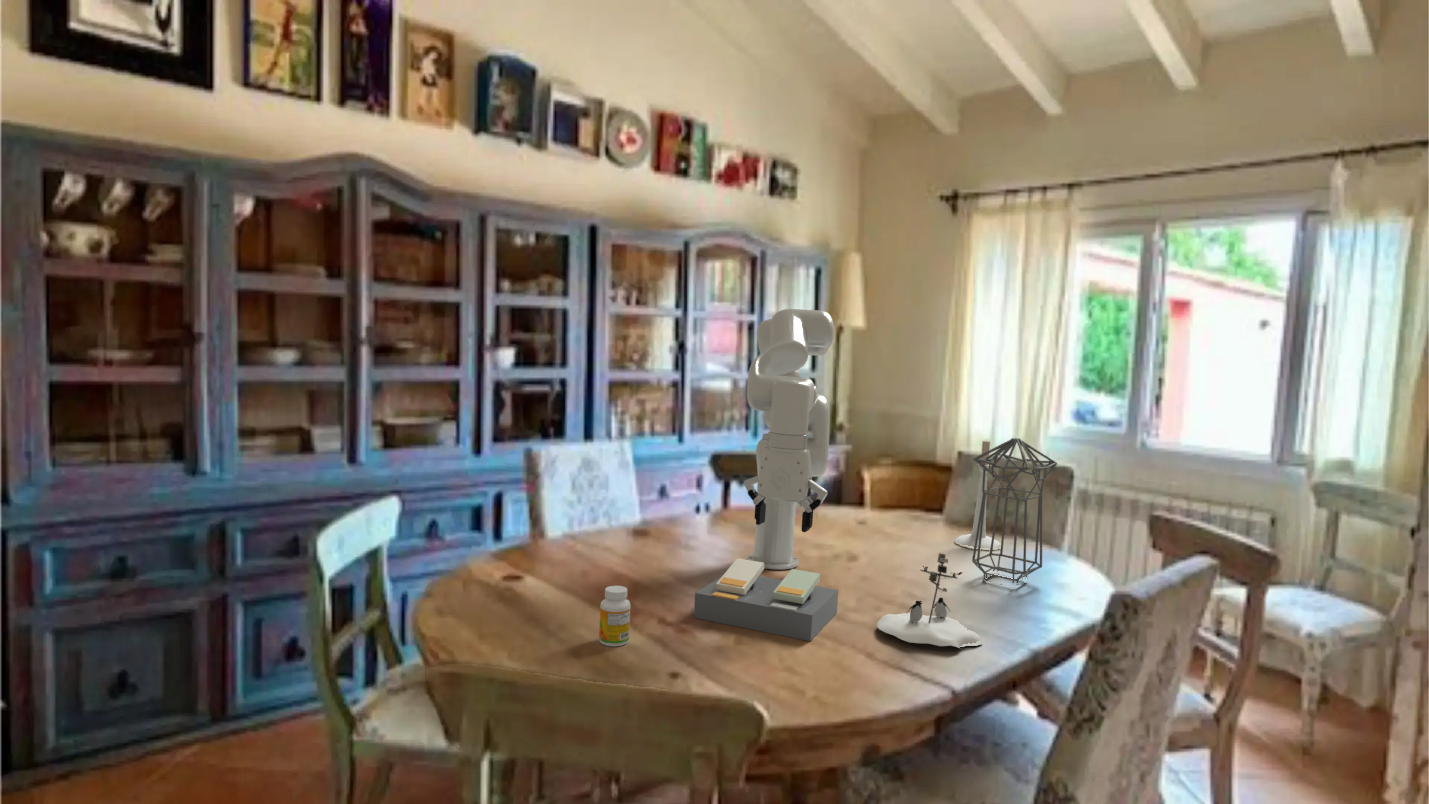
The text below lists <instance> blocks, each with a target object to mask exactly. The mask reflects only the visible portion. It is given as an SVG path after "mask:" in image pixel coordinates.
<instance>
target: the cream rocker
mask: <svg viewBox="0 0 1429 804" xmlns="http://www.w3.org/2000/svg"><path fill="white" fill-rule="evenodd" d="M764 569H765V568H764V563H763V562H757V561H751V560H747V559H745V558H739V557H737V558H736V559H735V560H734V562H733V563H732V564H731V565H730V566H729V567H728V569H727V570H726V572H725V573H724V574H723V575H721V576H722V577H721V576H720V577H721V579H720V580H719V581H718V582H717V583H716V588H717V590H720V591H725V592H731V593H736V594H742V595H745V594H746V593H747V591H748V590H749V589H750V587H751V586H752V584H753V583H754V582H755V580H756V579H757V578H758V576H761V574H762V573H763V571H764Z"/></svg>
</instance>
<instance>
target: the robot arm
mask: <svg viewBox="0 0 1429 804" xmlns="http://www.w3.org/2000/svg"><path fill="white" fill-rule="evenodd" d="M834 336H835V324H834V320H833V318H832V316H831V315H830V314H829V313H828V312H827V311H825V310H817V309H816V310H815V309H797V308H785V309H781V310H778V311H777V312H776V313H774V315H773V316H772V317H771V318H769V319H765V320H763V321H761V322H760V323H759V325H758V327H757V344H758V345H757V346H758V349H759V354H758V355H757V357H755V358H754V359H753V361H752V363H751V364H750V366H749V370H748V375H747V387H746V397H747V398H746V400H747V404H748V405H749V406H750V408H751V409H753V410H755V411H758V412H764V413H763V414H764V423H765V425H766V427H767V428H769V431H768V432H767V433H763V434H762V438H760V440H759V441H758V442H757V445H756V449H755V451H756V452H755V453H756V454H755V456H756V458H755V459H756V469H757V475H756V476H753V477H750V478H748V479H745V480H744V481H743V484H744V487H745V489H746V491H747V496H748V497H749V498H750V499H751V501H752V503H753V505H754V520H755V529H754V530H755V532H754V546H753V547H754V549H753V551H754V552H753V553H750V554H748V555H747V559H746V560H751V561H757V562H763V563H764V569H766V570H767V569H768V570H779V571H782V570H791V569H795V568H796V567H798V566H799V562H800V561H799V559H798V558H797V557H796V556H794V554H793V553H794V546H795V544H794V539H795V537H794V536H795V524H796V523H795V521H796V507H797V505H796V504H797V503H800V504H801V506H802V507H803V509H804V511H802V516H801V530H800V531H801V532H802V533H806V532H808V531H809V530H810V529H811V528H812V527H813V519H814V518H813V517H814V511H815V510H816V509H817V508H818V507H820V506H821V505H822V504H823V502H824V501H825V499H826V498H827V496H828V494H829V493H828V490H827V489H825V488H824V487H822V486H821V485H820V484H818V483H817V482H816V481H814V480H813V478H814V477H821V476H823V475H824V474H825V473H826V472H827V469H828V465H829V452H830V451H829V447H830V420H831V419H830V415H831V414H830V405H829V402H828V399H827V398H826V396H825V395H824V396H823V395H822V394H819V393H818V389H817V386H816V384H815V383H814V382H813V380H811V379H810V378H808V377H805V376H804V377H803V376H801V372H800V369H802V368H803V367H804V366H805V365H806V363H807V361H808V358H809V356H824V355H825V354H826V353H827V352H828V350H829V349H830V347H831V346H832V343H833V340H834ZM808 434H809V436H810V437H808ZM756 483H757V489H755V486H754V485H755V484H756ZM812 491H813V492H815V493H816V494H817V497H816V498H815V500H812V499H811V495H812Z"/></svg>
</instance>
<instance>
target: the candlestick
mask: <svg viewBox="0 0 1429 804" xmlns="http://www.w3.org/2000/svg"><path fill="white" fill-rule="evenodd" d="M990 446H991V441H990V440H987V439H985V440H982V444H981V454H983V453H985V452H987V451H989V450H990V449H991V448H990ZM988 456H990V453H989V454H987V455H985V456H984V457H982V458H980V459H985V458H987V457H988ZM981 463H983V462H981ZM977 465H978V467H979V469H978V470H979V473H980V476H979V480H978V488H977V494H976V502H975V510H974V517H973V524H972V530H971V532H970V533H969V534H962V535H959V536H957V537H956V538H954V540H955V542H958V543H960V544H962V545H968V546H973V547H974V546H975V540H976V533H977V527H978V521H979V515H980V509H981V503H982V496H983V493H982V486H983V468H982V467H981V466H980V465H979V464H978V463H977ZM985 466H986V467H987V468H989V464H987V463H985ZM990 467H992V465H990ZM988 473H989V472H988V471H985V487H984V490H987V489H988V488H987V486H988V477H987V474H988ZM986 492H987V491H986ZM987 495H988V494H986V496H987ZM986 519H987V499H986V500H985V510H984V519H983V529H982V538H981V547H982V548H991V541H992V536H988V535H987V534H986V533H987V532H986V530H987V529H986V525H987V523H986V522H987V521H986ZM980 525H981V523H980ZM979 535H980V529H979ZM978 545H979V536H978V542H977V547H978ZM998 545H1001V542H1000V541H998V540H997V539H995V538H994V543H993V547H996V546H998Z"/></svg>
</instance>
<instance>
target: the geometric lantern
mask: <svg viewBox="0 0 1429 804" xmlns="http://www.w3.org/2000/svg"><path fill="white" fill-rule="evenodd" d="M1016 445H1017V446H1018V449H1019V452H1020V454H1021V458H1020V457H1015V456H1012V455H1013V454H1014V450H1015V448H1016ZM1033 451H1034V452H1035V453H1036V454H1039V456H1041V457H1043V458H1044V459H1046V460H1040V459H1039V458H1038V457H1037V456H1036V455H1035V453H1034V452H1033ZM1008 452H1009V454H1007V453H1008ZM1025 453H1026V455H1027V457H1028V458H1026V455H1025ZM987 454H989V456H988V457H987V458H985V459H981V458H982V457H984V456H985V455H987ZM1002 458H1005V459H1006V462H1005V464H1004V466H1003V465H1002V466H1001V465H997V464H998V463H999V461H1000V460H1001V459H1002ZM971 460H972V461H973V462H975V463H976V464H977V465H978V464H979V465H980V466H981V467H982V468H983V486H982V493H983V496H982V503H981V509H980V515H979V521H978V527H977V533H976V540H975V546H974V550H973V552H972V559H971V560H972V563H973V564H974V565H975V566H976V567H977V568H978V569H979V570H980V571H981V572H982V574H983V577H985V578H987V577H988V576H991V575H992V577H995V578H997V577H998V578H1001V579H1005V580H1010V581H1011V584H1012V583H1014V584H1015V582H1016V584H1017V583H1018V584H1019V579H1023V577H1025V578H1026V577H1027V578H1028V575H1030V574H1032V573H1033V572H1035V571H1037V570H1040V569H1042V568H1043V489H1044V484H1045V479H1046V478H1047V477H1048V476H1049V474H1050V473H1051V472H1052V471H1053V469H1054V468H1055V467H1056V466H1057V465H1058V463H1057V461H1055V460H1054V459H1052V458H1050V457H1048V456H1047V455H1045V454H1044V453H1043V452H1041V451H1039V450H1037V449H1036V448H1034V447H1033V446H1032V445H1030V444H1029V443H1026V441H1024V440H1022V439H1021V438H1017V437H1012V438H1010V439H1009V440H1007V441H1005V442H1003V443H1001V444H999V445H997V446H995V447H993V448H990V449H989V451H987V452H985V453H983V454H982V453H981V454H979V455H978V456H975V457H973V458H972V459H971ZM1013 460H1014V461H1015V460H1016V461H1018V462H1021V463H1022V464H1021V465H1022V466H1019V465H1017V464H1016V463H1015V462H1014V461H1013ZM992 461H993V462H992ZM981 462H983V463H981ZM1028 462H1030V463H1031V464H1032V466H1033V467H1030V466H1029V465H1030V464H1029V463H1028ZM985 463H987V464H988V465H989V468H987V467H986V466H985ZM1009 463H1011V465H1013V466H1008V465H1009ZM1038 464H1039V465H1040V466H1041V467H1040V466H1039V465H1038ZM979 465H978V466H979ZM990 465H991V466H990ZM994 468H997V469H1001V470H1002V475H998V474H997V472H996V470H994ZM1006 469H1007V470H1008V469H1009V470H1012V469H1013V470H1017V471H1015V472H1013V473H1012V472H1011V473H1010V474H1008V475H1006V472H1005V470H1006ZM1029 470H1031V471H1029ZM1043 470H1044V472H1043V476H1042V477H1041V471H1043ZM985 471H988V472H987V473H989V474H990V475H991V477H992V478H994V479H993V481H992V482H991V484H990V486H989V488H987V490H984V487H985ZM1020 473H1024V474H1029V475H1032V476H1033V477H1034V480H1035V483H1034V485H1033V487H1032V489H1031V490H1030V491H1029V490H1024V489H1018V488H1017V489H1016V488H1013V486H1012V484H1013V482H1014V481H1015V480H1016V478H1018V476H1019V475H1020ZM1013 476H1014V477H1013ZM1012 477H1013V478H1012ZM1009 478H1012V479H1011V481H1010V480H1009ZM1001 479H1004V480H1005V481H1006V483H1007V486H1005V487H1004V486H1003V484H1002V482H1001ZM996 480H997V481H998V482H999V484H1000V486H996V487H993V485H994V484H995V482H996ZM1039 482H1041V485H1039ZM1036 486H1037V487H1038V490H1039V492H1036V491H1035V492H1034V489H1035V488H1036ZM993 490H998V493H997V494H996V493H992V492H989V491H993ZM1002 490H1005V491H1006V493H1005V495H1002ZM986 491H987V492H986ZM1009 491H1011V492H1012V493H1013V496H1014V497H1011V496H1009ZM1016 492H1021V493H1028V494H1027V496H1026V498H1020V497H1019V496H1018V495H1017V493H1016ZM986 494H987V495H988V496H989V495H990V496H995V497H997V500H996V507H995V515H994V521H993V528H992V529H993V530H992V535H991V538H992V541H991V548H990V551H989V553H987V554H985V555H981V551H980V548H981V538H982V529H983V519H984V510H985V500H986V501H987V495H986ZM1031 494H1033V495H1035V496H1032V497H1030V496H1031ZM1001 498H1004V499H1005V502H1004V511H1003V520H1002V531H1001V542H1000V544H1001V549H1000V550H999V551H1000V552H999V553H994V552H993V551H992V550H993V543H994V539H995V537H996V529H997V522H998V513H999V506H1000V502H1001V501H1000V500H1001ZM1036 498H1038V499H1037V500H1038V502H1037V515H1036V516H1037V519H1036V535H1035V552H1034V560H1029V559H1027V525H1028V524H1027V523H1028V520H1027V518H1028V517H1027V516H1028V515H1027V514H1028V501H1029V500H1033V499H1036ZM1009 499H1011V500H1016V504H1015V505H1016V506H1015V520H1014V537H1013V552H1012V556H1011V555H1008V554H1003V552H1004V551H1003V550H1004V541H1005V531H1006V529H1005V528H1006V520H1007V511H1008V500H1009ZM1020 501H1021V502H1024V508H1023V509H1024V510H1023V511H1024V514H1023V516H1024V518H1023V521H1024V522H1023V554H1022V555H1023V557H1022V558H1021V557H1016V553H1017V538H1018V537H1017V536H1018V523H1019V522H1018V521H1019V506H1020V505H1019V502H1020ZM980 523H981V525H980ZM979 529H980V535H979ZM978 536H979V545H978V550H976V548H977V542H978ZM1038 549H1039V550H1038ZM1038 553H1039V562H1038ZM976 555H977V557H976ZM980 555H981V556H980ZM992 556H994V557H998V561H997V566H996V564H995V562H994V558H993V557H992ZM988 557H989V558H990V561H991V562H992V565H990V564H985V563H982V562H980V560H983V559H985V558H988ZM1001 557H1003V558H1008V559H1012V566H1011V567H1012V569H1011V568H1007V567H1003V566H1000V562H1001ZM1016 561H1022V562H1023V567H1022V568H1023V569H1022V570H1017V569H1016ZM1027 563H1029V564H1031V565H1030V566H1029V567H1028V568H1027ZM1034 565H1037V566H1035V567H1033V566H1034ZM983 567H984V568H985V567H986V568H988V569H986V570H984V568H983ZM1026 568H1027V569H1026ZM991 570H992V572H993V571H996V572H997V571H1000V572H1003V573H1008V574H1012V578H1013V579H1011V578H1007V577H1002V576H998V575H999V574H998V575H994V574H995V573H994V574H993V573H989V572H990V571H991ZM1015 575H1018V577H1016V578H1017V579H1014V578H1015ZM983 577H982V578H983Z"/></svg>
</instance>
